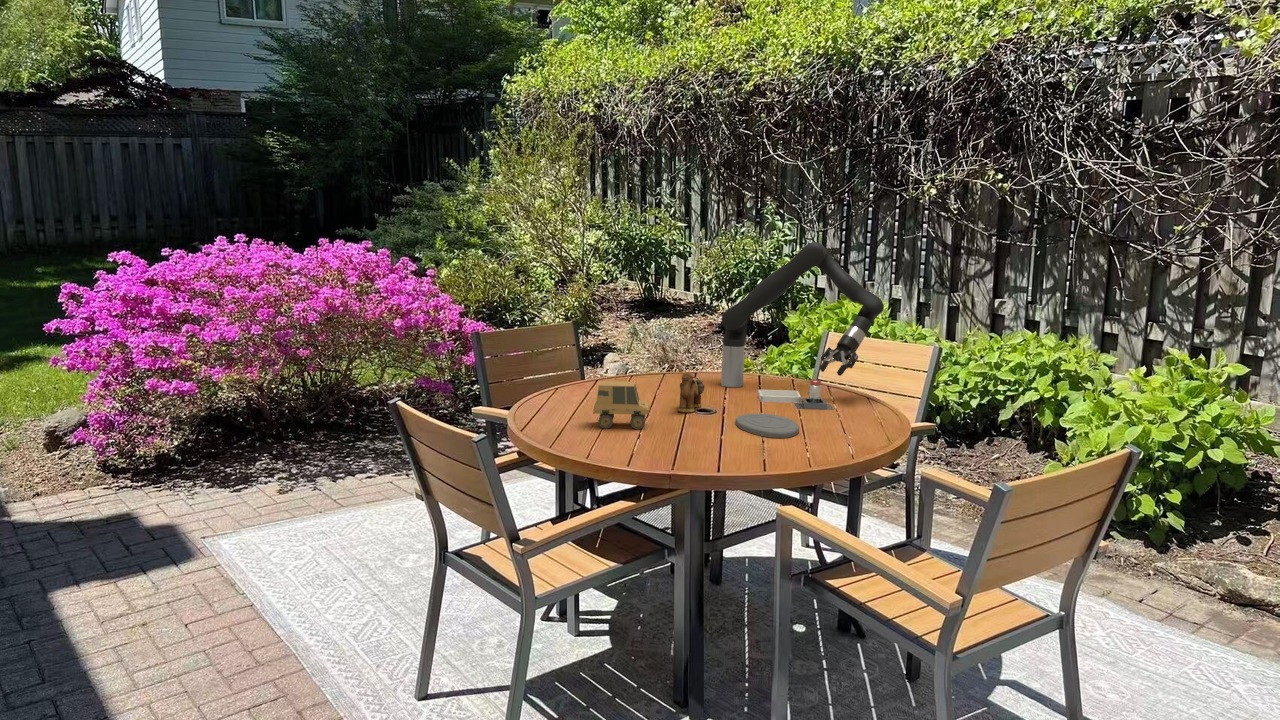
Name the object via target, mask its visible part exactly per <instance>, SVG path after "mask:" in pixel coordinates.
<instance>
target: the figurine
mask: <svg viewBox="0 0 1280 720" xmlns="http://www.w3.org/2000/svg"><path fill="white" fill-rule="evenodd" d="M703 382H704V380H702V379H699V378H698V377H696V376H693V375H692V374H691V373H690V372H686V373H683V374H682V375H681V382H680V383H679V389H680V391H679V407H678V408H677V412H678V413H688V414H689V413H694V412H695V411H696V409H695V408H698V409H699V408H701V407H702V394H703V393H704V391H705V385H704V384H703Z"/></svg>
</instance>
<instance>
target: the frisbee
mask: <svg viewBox="0 0 1280 720" xmlns="http://www.w3.org/2000/svg"><path fill="white" fill-rule="evenodd" d="M735 424H736V427H737V428H739V429H740V430H742V431H744V432H746V433H750V434H752V435H756V436H759V437H761V438H762V437H763V438H769V439H788V438H793V437H796V436H797V435H798V434H799V432H800V426H799V425H798V423H797V422H795V421H794V420H793V419H790V418H789V417H785V416H782V415H778V414H772V413H760V412H759V413H756V412H755V413H746V414H741V415H738V416H736V418H735Z"/></svg>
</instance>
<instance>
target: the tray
mask: <svg viewBox="0 0 1280 720" xmlns="http://www.w3.org/2000/svg"><path fill="white" fill-rule="evenodd" d="M757 398H758V400H759V403H783V404H785V403H789V404H792V403H793V404H794V403H801V401H802V396H801V395H800V392H799V391H798V390H790V389H789V390H787V389H785V390H784V389H779V390H778V389H758V390H757Z"/></svg>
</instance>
